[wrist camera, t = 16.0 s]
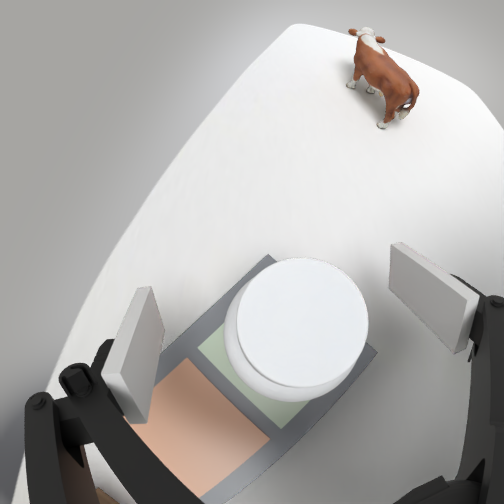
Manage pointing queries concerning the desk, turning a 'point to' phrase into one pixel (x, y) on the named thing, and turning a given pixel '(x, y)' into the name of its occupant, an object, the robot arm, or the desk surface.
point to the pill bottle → (296, 329)
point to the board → (223, 410)
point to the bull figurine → (382, 75)
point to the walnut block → (104, 497)
